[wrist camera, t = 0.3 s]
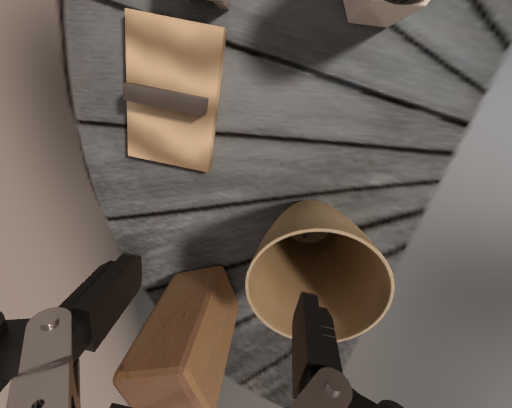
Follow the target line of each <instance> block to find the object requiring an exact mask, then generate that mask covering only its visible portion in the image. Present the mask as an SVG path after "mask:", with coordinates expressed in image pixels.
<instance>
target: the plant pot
mask: <svg viewBox="0 0 512 408" xmlns="http://www.w3.org/2000/svg"><path fill="white" fill-rule="evenodd" d="M304 235H307V236H306V237H304ZM394 286H395V285H394V278H393V273H392V271H391V268H390V266H389V264H388V262H387V261H386V259H385V258H384V256H383V255H382V254H381V253H380V252H379V250H378V249H377V248H376V247H375V245H374V244H373V243H372V242H371V241H370V240H369V239H368V237H367V236H366V235H365V234H364V233H363V232H362V231H361V230H360V229H359V228H358V227H357V226H356V225H355V224H354V223H353V222H352V221H350V220H349V219H348V218H347V217H346V216H344V215H343V214H342V213H340V212H339V211H337V210H336V209H334V208H333V207H331V206H329V205H327V204H325V203H322V202H319V201H316V200H302V201H299V202H297V203H295V204H293V205H292V206H290V207H289V208H288V209H287V210H285V211H284V212H283V213H282V214H281V215H280V216H279V217H278V218H277V220H276V221H275V222H274V223H273V225H272V226H271V227H270V229H269V230H268V232H267V233H266V235H265V236H264V238H263V240H262V241H261V243H260V245H259V247H258V249H257V251H256V253H255V255H254V257H253V259H252V261H251V264H250V266H249V268H248V271H247V274H246V279H245V291H246V296H247V299H248V302H249V305H250V307H251V308H252V310H253V312H254V313H255V314H256V316H257V317H258V318H259V319H260V320H261V321H262V322H263V323H264V324H265V325H266V326H268V327H269V328H271V329H272V330H274V331H275V332H277V333H279V334H281V335H283V336H285V337H288V338H291V339H292V321H293V315H294V312H295V309H296V306H297V303H298V300H299V297H300V294H301V292H307V293H312V294H316V295H317V296H318V302H319V307H323V308H327V310H328V311H329V313H330V315H331V316H332V318H333V323H334V330H335V334H336V339H337V342H341V341H345V340H348V339H351V338H354V337H356V336H359V335H361V334H363V333H364V332H366V331H367V330H369V329H371V328H372V327H373V326H375V325H376V324H377V323H378V322H379V321H380V320H381V319H382V318H383V316H384V315H385V314H386V312H387V311H388V309H389V307H390V305H391V302H392V300H393V296H394V288H395V287H394Z"/></svg>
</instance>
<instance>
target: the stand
mask: <svg viewBox="0 0 512 408" xmlns="http://www.w3.org/2000/svg"><path fill="white" fill-rule="evenodd" d="M226 33H227V30H226V29H225V28H224V27H219V26H214V25H209V24H204V23H199V22H194V21H189V20H184V19H179V18H173V17H168V16H163V15H158V14H153V13H148V12H143V11H138V10H133V9H128V8H125V43H126V83H123V100H125V101H127V134H128V156H132V157H137V158H142V159H146V160H151V161H156V162H160V163H165V164H170V165H175V166H179V167H184V168H189V169H194V170H198V171H203V172H209V171H210V170H211V163H212V155H213V146H214V137H215V128H216V120H217V111H218V102H219V94H220V85H221V76H222V67H223V59H224V50H225V41H226Z"/></svg>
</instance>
